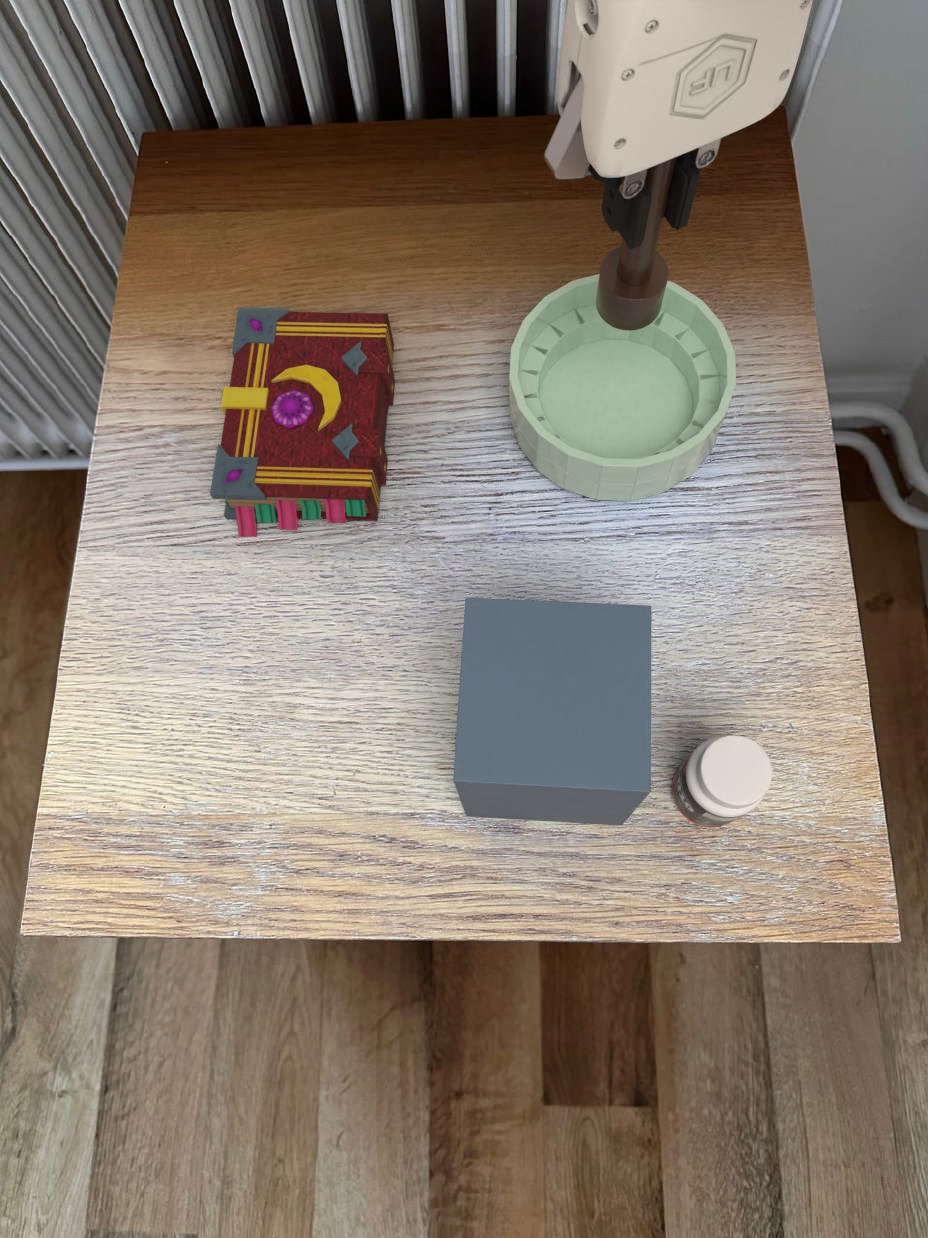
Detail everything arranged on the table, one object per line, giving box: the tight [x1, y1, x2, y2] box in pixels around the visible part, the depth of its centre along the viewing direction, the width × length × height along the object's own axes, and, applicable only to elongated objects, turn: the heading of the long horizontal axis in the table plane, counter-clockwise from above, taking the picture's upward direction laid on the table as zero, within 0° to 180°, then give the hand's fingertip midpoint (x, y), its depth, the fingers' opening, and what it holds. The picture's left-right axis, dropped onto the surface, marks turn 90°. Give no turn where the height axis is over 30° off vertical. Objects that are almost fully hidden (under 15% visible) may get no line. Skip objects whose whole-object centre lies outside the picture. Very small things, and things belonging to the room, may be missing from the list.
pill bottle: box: [671, 734, 773, 829], centre depth 59 cm, size 5×5×8 cm
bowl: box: [508, 273, 737, 502], centre depth 69 cm, size 15×15×6 cm
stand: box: [452, 597, 652, 826], centre depth 58 cm, size 10×10×14 cm
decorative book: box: [209, 306, 396, 538], centre depth 70 cm, size 11×16×5 cm
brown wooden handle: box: [596, 157, 676, 331], centre depth 54 cm, size 4×4×13 cm
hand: (645, 217), depth 53 cm, fingers closed on brown wooden handle, 2 cm apart
